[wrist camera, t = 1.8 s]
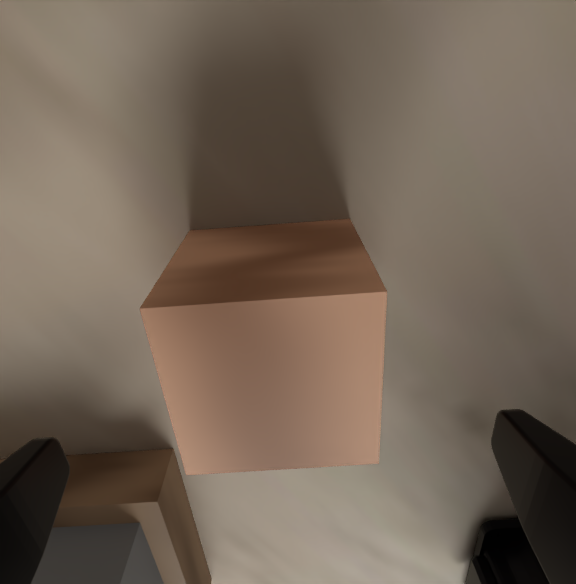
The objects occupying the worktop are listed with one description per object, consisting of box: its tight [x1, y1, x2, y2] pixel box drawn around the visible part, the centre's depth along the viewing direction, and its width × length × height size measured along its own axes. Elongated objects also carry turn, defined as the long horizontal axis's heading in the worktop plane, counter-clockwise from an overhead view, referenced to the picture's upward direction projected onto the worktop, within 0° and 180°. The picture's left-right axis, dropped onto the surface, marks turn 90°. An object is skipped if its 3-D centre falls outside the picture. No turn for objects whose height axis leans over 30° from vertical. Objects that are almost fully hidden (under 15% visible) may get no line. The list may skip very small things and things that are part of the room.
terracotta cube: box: [140, 219, 387, 475], centre depth 11 cm, size 5×5×5 cm
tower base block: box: [0, 449, 212, 584], centre depth 18 cm, size 10×10×3 cm
